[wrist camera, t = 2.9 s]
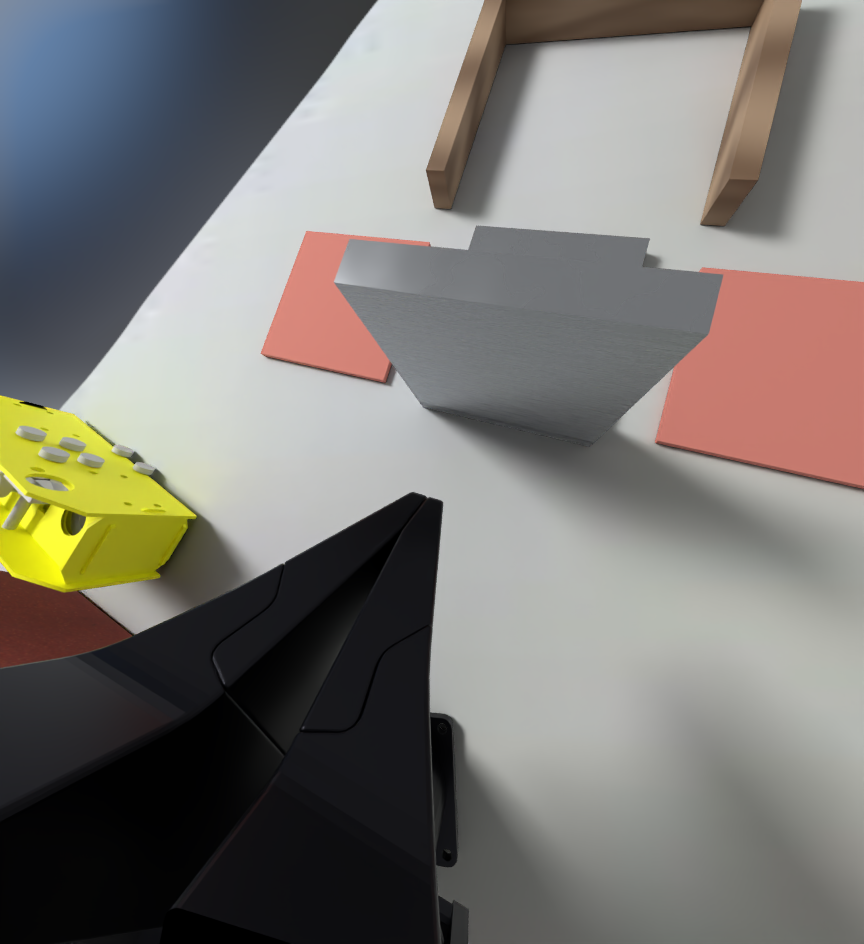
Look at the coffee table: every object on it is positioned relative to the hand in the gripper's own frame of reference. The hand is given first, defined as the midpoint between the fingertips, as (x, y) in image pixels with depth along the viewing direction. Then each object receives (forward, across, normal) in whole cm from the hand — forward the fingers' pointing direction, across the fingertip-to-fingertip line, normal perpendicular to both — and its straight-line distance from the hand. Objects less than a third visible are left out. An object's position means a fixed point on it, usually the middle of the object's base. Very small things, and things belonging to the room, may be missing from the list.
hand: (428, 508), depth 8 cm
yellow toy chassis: (+4, +26, +12) cm, 29 cm away
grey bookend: (+16, 0, -1) cm, 16 cm away
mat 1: (+16, +13, -1) cm, 21 cm away
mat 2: (+16, -13, -1) cm, 21 cm away
